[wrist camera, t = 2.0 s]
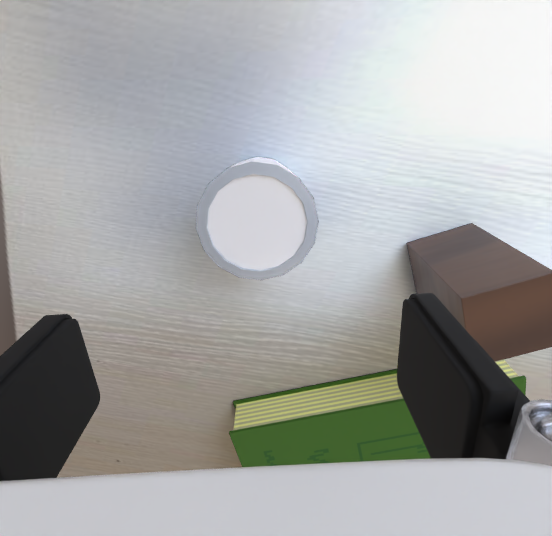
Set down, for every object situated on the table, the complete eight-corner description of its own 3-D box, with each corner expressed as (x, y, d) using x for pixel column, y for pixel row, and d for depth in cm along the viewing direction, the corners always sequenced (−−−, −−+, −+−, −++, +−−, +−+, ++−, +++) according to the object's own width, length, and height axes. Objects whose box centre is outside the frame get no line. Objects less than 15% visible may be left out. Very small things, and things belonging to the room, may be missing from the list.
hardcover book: (279, 525, 42) (279, 562, 39) (233, 400, 35) (229, 433, 31) (505, 488, 40) (527, 524, 37) (508, 347, 33) (535, 375, 29)
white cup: (322, 218, 28) (337, 252, 21) (240, 255, 29) (232, 298, 23) (282, 129, 25) (287, 138, 19) (195, 174, 26) (170, 197, 20)
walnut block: (406, 242, 29) (461, 298, 20) (472, 222, 28) (555, 271, 20) (417, 297, 31) (471, 368, 22) (478, 279, 30) (557, 345, 22)
